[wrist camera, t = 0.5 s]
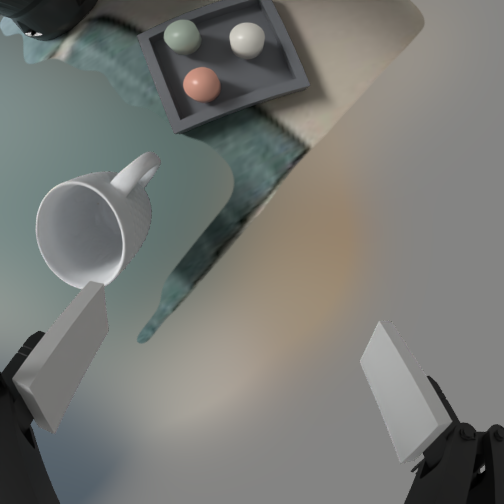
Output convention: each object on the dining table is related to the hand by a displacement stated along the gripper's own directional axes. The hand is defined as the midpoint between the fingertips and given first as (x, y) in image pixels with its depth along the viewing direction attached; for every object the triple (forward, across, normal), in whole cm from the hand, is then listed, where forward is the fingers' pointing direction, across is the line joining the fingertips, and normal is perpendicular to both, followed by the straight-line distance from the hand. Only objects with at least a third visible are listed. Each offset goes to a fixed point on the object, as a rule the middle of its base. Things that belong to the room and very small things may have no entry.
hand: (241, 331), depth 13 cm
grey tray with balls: (+25, -6, +17) cm, 31 cm away
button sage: (+23, -10, +19) cm, 31 cm away
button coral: (+23, -7, +13) cm, 27 cm away
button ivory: (+23, -3, +19) cm, 30 cm away
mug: (+25, -15, -2) cm, 29 cm away
